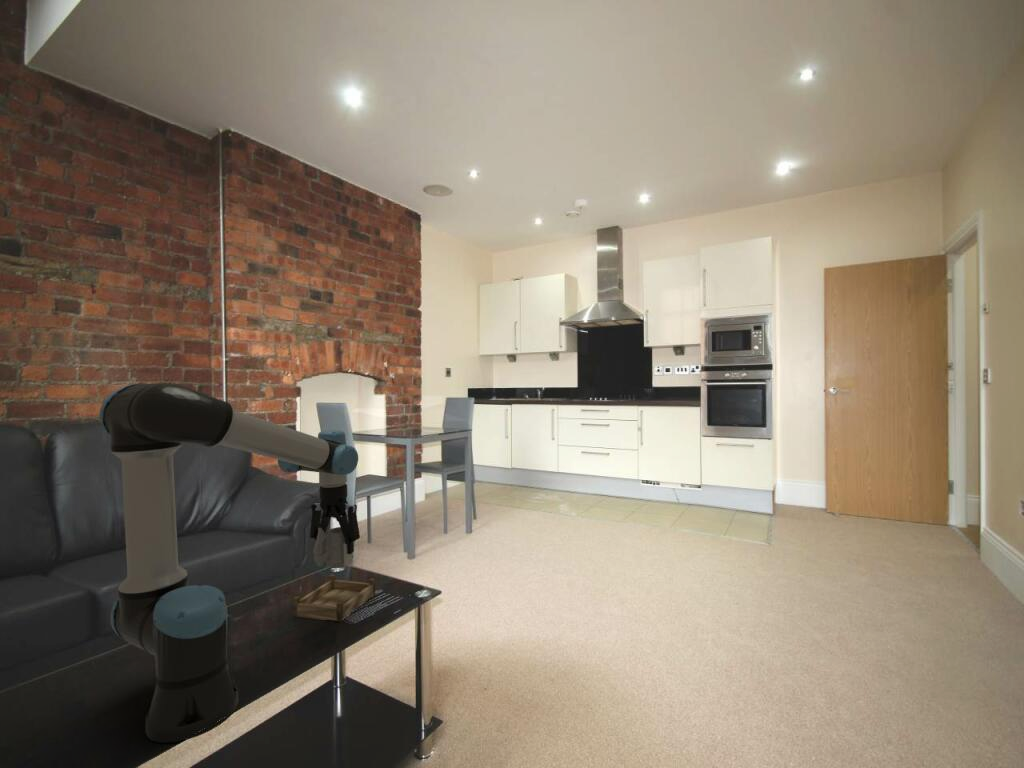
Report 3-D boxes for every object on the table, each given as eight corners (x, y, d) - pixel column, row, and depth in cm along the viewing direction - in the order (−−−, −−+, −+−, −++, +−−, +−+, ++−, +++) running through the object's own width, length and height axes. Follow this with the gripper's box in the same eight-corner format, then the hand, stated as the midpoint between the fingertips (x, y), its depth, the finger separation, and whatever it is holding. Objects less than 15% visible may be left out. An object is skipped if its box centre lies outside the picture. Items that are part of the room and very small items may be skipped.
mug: (358, 562, 145) (358, 521, 144) (322, 575, 135) (321, 532, 135) (343, 557, 149) (342, 517, 149) (307, 569, 140) (306, 527, 140)
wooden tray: (340, 622, 132) (340, 603, 132) (293, 616, 136) (293, 598, 136) (375, 595, 148) (374, 578, 148) (332, 590, 152) (332, 574, 152)
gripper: (371, 483, 143) (374, 561, 143) (311, 480, 148) (313, 556, 148) (356, 488, 135) (359, 571, 136) (294, 485, 141) (296, 565, 141)
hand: (335, 563), depth 142 cm, fingers closed on mug, 8 cm apart
